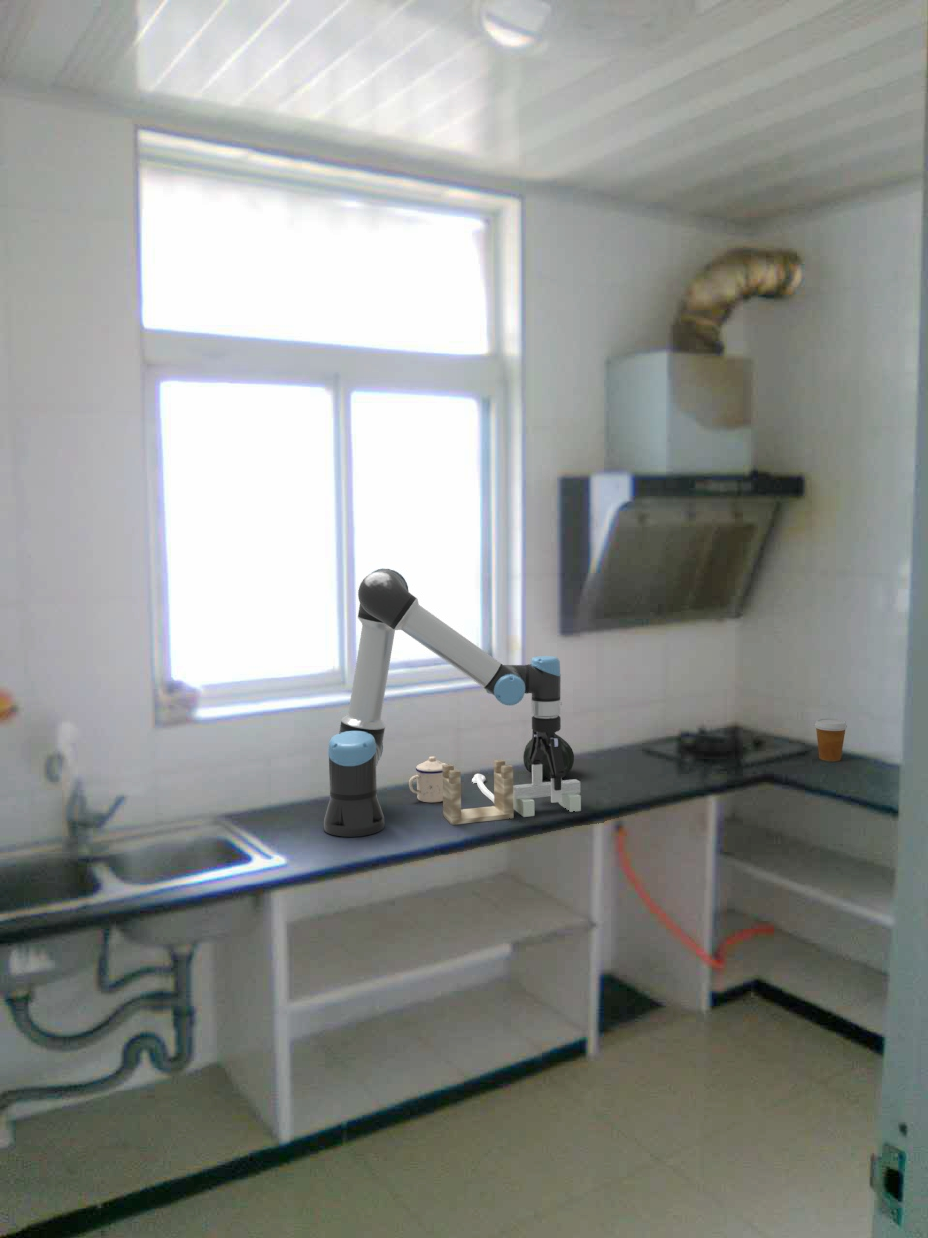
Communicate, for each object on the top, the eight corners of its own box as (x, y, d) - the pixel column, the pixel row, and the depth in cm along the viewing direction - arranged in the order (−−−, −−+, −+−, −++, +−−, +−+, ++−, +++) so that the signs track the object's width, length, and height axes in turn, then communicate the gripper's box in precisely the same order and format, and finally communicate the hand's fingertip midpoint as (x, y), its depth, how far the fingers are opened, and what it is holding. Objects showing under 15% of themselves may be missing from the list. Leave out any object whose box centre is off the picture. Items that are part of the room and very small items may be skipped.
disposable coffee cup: (815, 762, 307) (816, 723, 305) (812, 754, 316) (813, 717, 315) (848, 763, 304) (849, 725, 303) (843, 756, 314) (844, 718, 312)
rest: (523, 817, 255) (523, 802, 255) (513, 808, 263) (512, 793, 262) (580, 810, 260) (580, 796, 259) (568, 802, 268) (568, 788, 267)
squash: (559, 749, 306) (533, 717, 299) (590, 760, 293) (565, 728, 286) (531, 784, 301) (504, 753, 294) (562, 797, 289) (535, 765, 282)
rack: (451, 824, 250) (450, 772, 248) (443, 815, 257) (442, 765, 256) (513, 818, 254) (513, 766, 253) (503, 809, 262) (502, 759, 261)
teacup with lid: (438, 792, 280) (437, 751, 279) (455, 799, 272) (455, 757, 271) (401, 799, 273) (400, 757, 272) (418, 807, 266) (417, 764, 264)
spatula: (511, 808, 265) (511, 797, 264) (496, 809, 264) (496, 799, 264) (483, 781, 292) (483, 772, 292) (470, 782, 291) (470, 773, 291)
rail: (516, 799, 257) (516, 788, 257) (512, 796, 260) (512, 785, 260) (580, 793, 262) (580, 782, 262) (576, 790, 265) (575, 779, 265)
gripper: (578, 723, 248) (578, 806, 250) (542, 706, 272) (542, 781, 274) (550, 726, 246) (551, 809, 248) (516, 707, 270) (516, 784, 272)
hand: (546, 795), depth 261 cm, fingers open, 13 cm apart
